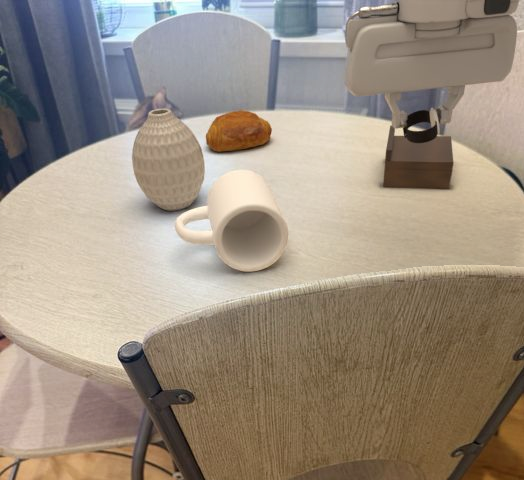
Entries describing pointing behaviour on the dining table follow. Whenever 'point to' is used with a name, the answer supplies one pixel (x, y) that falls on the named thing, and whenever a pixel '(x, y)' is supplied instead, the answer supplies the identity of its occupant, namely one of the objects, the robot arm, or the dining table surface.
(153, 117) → the vase
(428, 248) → the dining table surface
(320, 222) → the dining table surface
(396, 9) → the robot arm
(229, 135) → the croissant
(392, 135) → the brown wooden box
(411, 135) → the watch
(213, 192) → the mug
